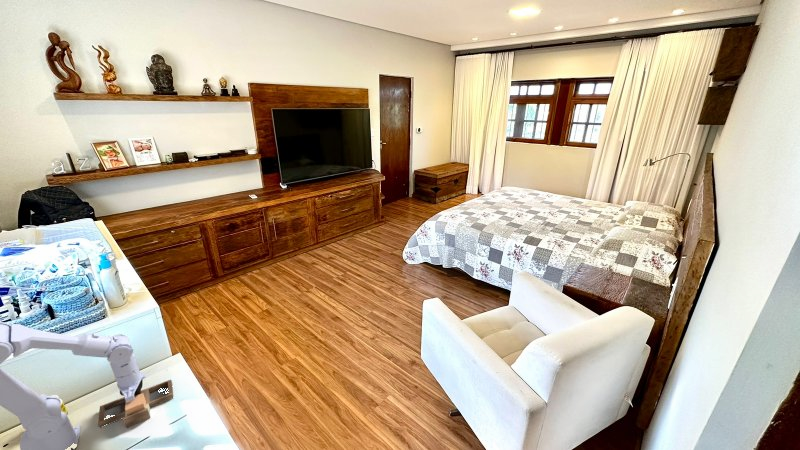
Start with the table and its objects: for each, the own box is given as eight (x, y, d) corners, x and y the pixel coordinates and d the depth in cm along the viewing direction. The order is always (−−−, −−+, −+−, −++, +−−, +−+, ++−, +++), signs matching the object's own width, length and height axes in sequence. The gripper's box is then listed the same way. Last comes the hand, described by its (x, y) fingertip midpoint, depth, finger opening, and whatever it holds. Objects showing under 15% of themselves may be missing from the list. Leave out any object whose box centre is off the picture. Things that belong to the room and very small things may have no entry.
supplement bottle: (54, 427, 95) (44, 409, 92) (42, 423, 96) (32, 405, 93) (72, 413, 100) (64, 395, 96) (61, 409, 100) (51, 391, 97)
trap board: (98, 439, 93) (94, 431, 92) (101, 410, 101) (98, 401, 100) (174, 407, 104) (172, 399, 103) (172, 383, 112) (170, 375, 111)
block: (128, 418, 98) (125, 410, 96) (128, 407, 101) (125, 399, 99) (146, 411, 100) (143, 403, 99) (145, 401, 103) (143, 392, 102)
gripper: (142, 380, 95) (152, 410, 100) (142, 349, 105) (151, 378, 110) (111, 391, 90) (123, 422, 96) (114, 358, 101) (125, 387, 106)
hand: (136, 399), depth 103 cm, fingers closed
